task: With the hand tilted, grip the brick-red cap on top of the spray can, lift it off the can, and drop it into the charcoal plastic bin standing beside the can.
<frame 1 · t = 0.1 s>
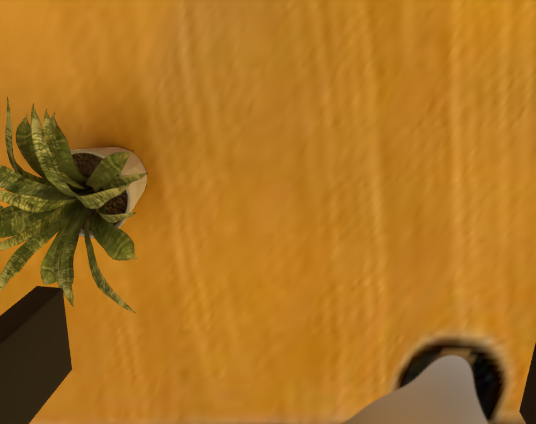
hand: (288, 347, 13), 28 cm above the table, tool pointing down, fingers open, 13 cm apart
house plant: (134, 177, 42), on the table
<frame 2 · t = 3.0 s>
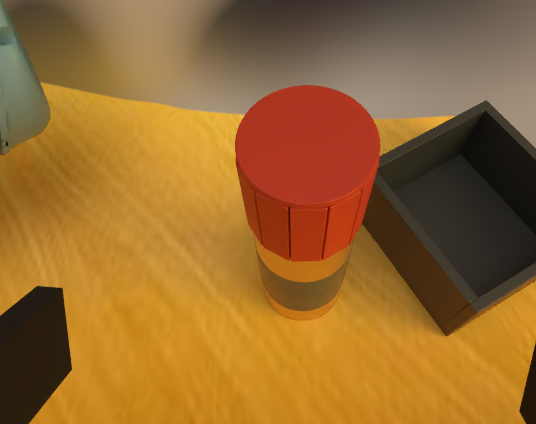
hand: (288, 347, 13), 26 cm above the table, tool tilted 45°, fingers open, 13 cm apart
bin: (453, 234, 42), on the table
cap: (304, 208, 29), point 14 cm above the table, touching spray can
spray can: (301, 282, 41), on the table, touching cap
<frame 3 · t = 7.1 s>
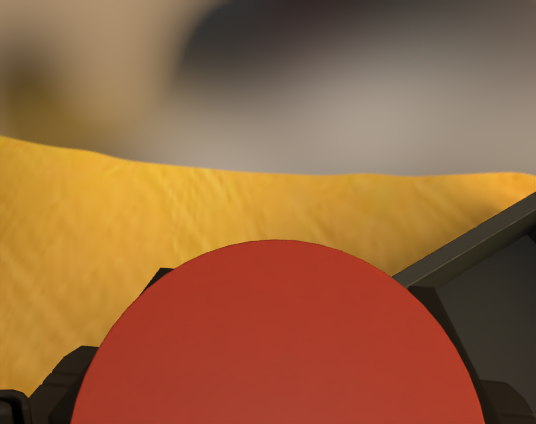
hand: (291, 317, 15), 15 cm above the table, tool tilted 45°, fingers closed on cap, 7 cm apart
bin: (522, 364, 28), on the table
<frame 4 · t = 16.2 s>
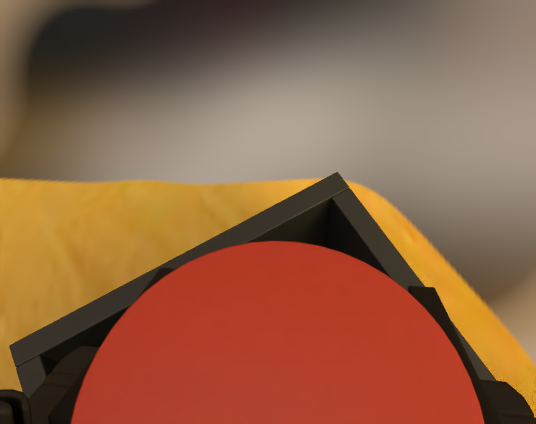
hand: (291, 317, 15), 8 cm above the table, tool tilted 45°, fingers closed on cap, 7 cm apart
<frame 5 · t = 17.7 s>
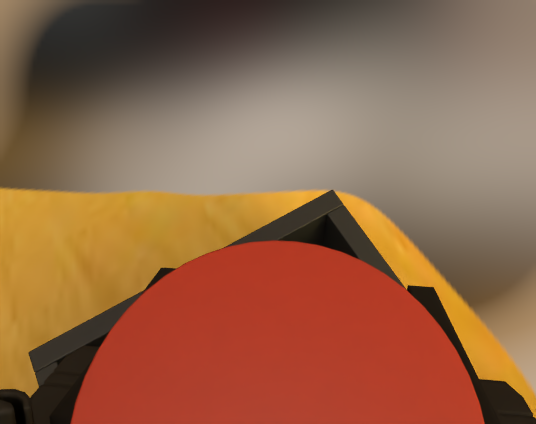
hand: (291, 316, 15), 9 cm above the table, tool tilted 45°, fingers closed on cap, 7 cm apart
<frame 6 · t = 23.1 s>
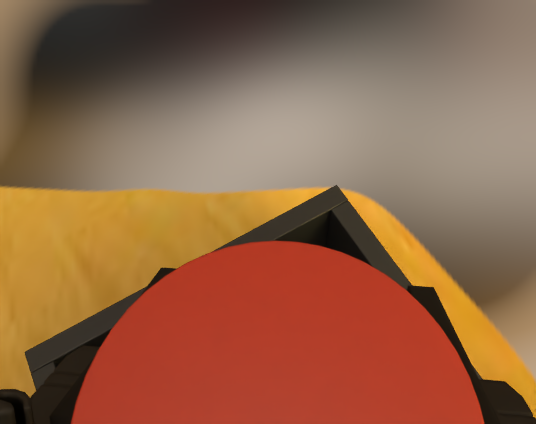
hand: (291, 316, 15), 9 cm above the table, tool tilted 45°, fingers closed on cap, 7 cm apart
when the fingers open (10 cm above the table, at t = 28.1 s): cap drops 9 cm, resting on bin.
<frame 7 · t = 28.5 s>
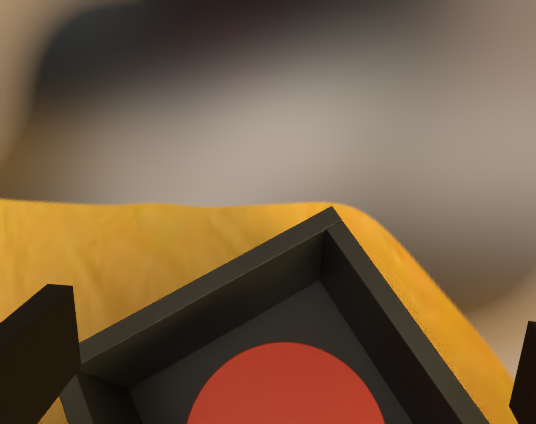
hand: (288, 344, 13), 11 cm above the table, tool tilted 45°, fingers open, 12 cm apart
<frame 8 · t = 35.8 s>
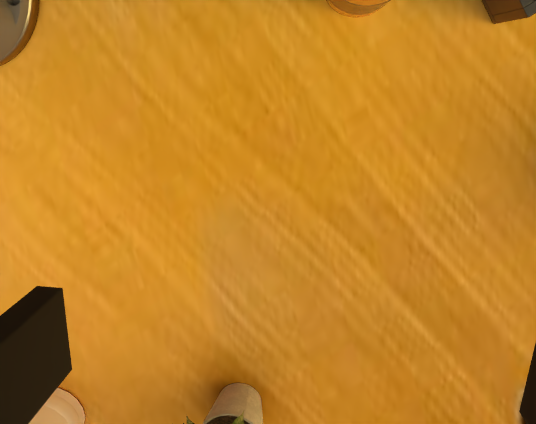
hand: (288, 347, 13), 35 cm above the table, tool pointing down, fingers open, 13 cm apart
house plant: (250, 396, 56), on the table
bottle: (57, 410, 60), on the table
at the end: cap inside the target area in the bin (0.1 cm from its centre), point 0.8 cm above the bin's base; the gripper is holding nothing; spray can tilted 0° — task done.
